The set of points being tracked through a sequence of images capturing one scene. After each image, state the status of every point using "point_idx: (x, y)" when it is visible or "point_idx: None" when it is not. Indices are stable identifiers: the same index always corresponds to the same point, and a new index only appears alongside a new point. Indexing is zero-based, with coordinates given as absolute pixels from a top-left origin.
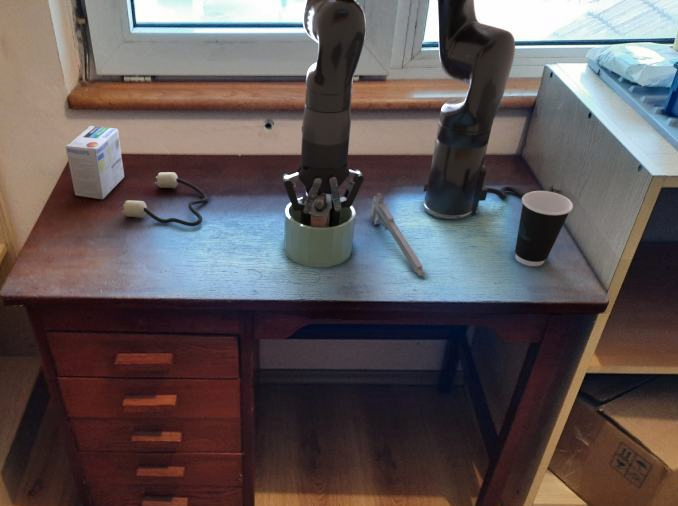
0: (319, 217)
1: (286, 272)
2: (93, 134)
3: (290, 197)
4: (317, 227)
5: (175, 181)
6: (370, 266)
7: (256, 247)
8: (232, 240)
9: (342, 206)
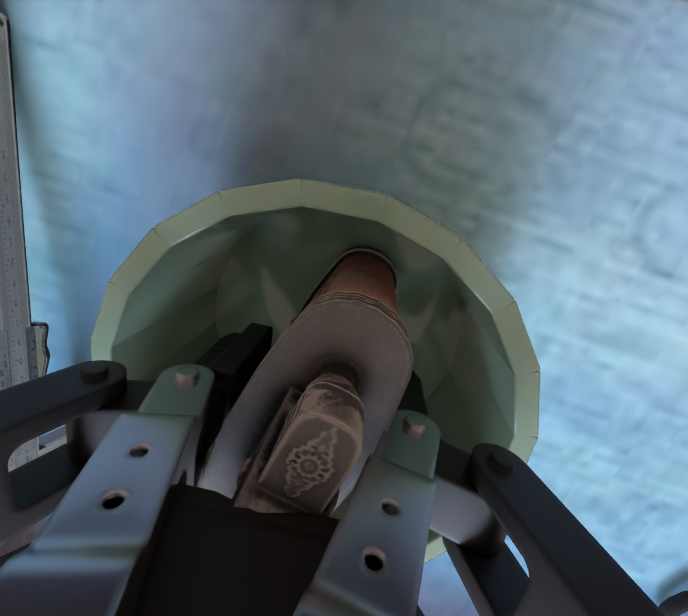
0: (367, 301)
1: (530, 203)
2: None
3: (608, 567)
4: (406, 234)
5: None
6: (178, 134)
7: (552, 407)
8: (612, 475)
9: (149, 387)
